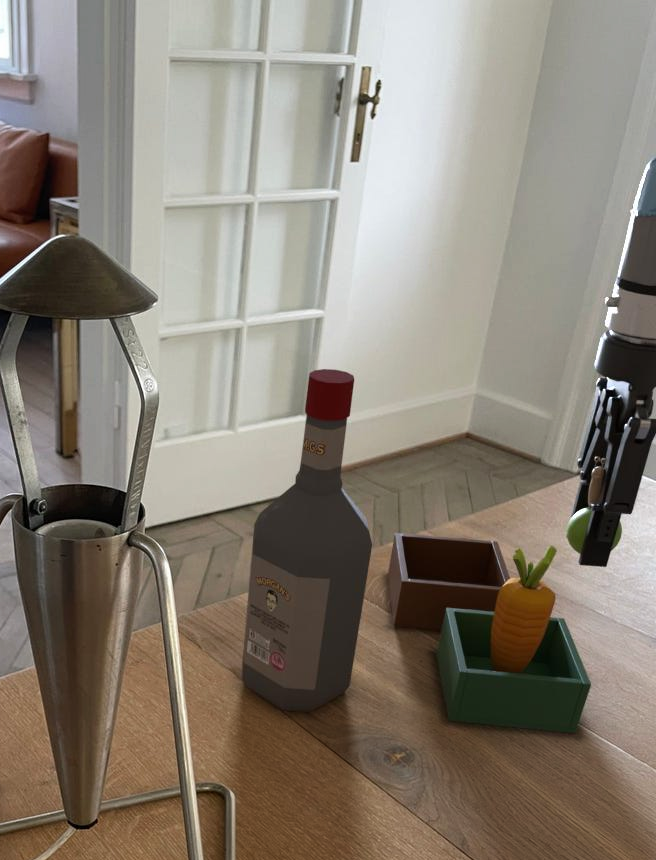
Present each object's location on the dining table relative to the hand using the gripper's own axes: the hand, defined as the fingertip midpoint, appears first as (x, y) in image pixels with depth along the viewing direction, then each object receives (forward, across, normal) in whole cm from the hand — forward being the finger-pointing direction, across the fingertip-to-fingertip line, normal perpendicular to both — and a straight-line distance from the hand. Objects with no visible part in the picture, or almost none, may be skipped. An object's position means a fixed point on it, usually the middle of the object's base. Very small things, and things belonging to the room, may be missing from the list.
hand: (585, 550), depth 105 cm
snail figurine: (+1, 0, 0) cm, 1 cm away
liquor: (+6, +21, -31) cm, 38 cm away
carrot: (+6, +19, -11) cm, 23 cm away
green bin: (+6, +19, -11) cm, 23 cm away
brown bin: (+6, +3, -15) cm, 16 cm away
